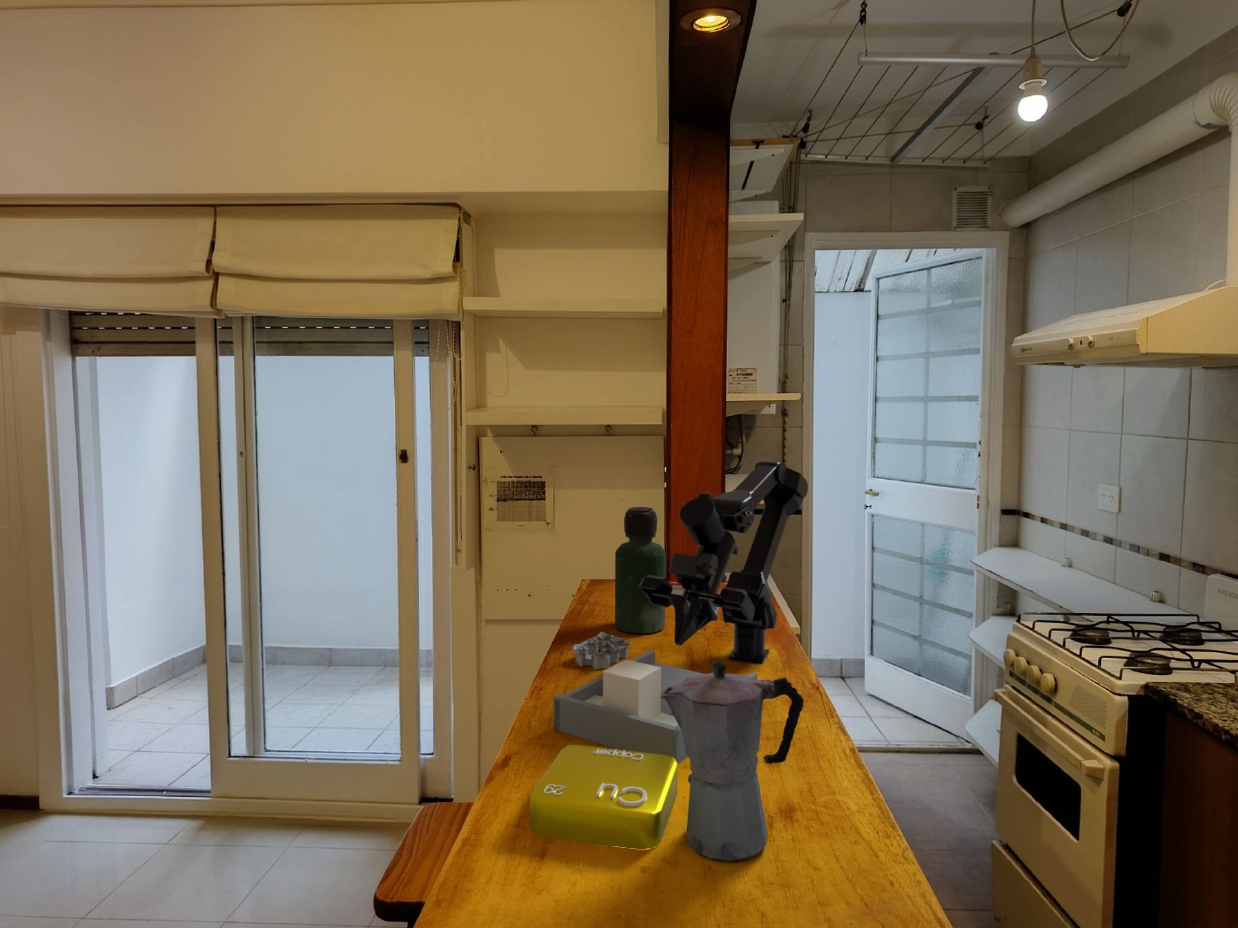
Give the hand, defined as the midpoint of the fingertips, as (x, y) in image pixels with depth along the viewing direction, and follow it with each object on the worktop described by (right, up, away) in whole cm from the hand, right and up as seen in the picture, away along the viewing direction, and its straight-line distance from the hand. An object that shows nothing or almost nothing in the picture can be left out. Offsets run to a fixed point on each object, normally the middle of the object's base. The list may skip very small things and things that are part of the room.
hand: (677, 643), depth 122 cm
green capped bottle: (-5, -6, +41) cm, 42 cm away
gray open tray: (-3, -10, -3) cm, 11 cm away
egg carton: (-12, -8, +21) cm, 26 cm away
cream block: (-7, -8, -10) cm, 15 cm away
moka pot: (+3, -13, -36) cm, 39 cm away
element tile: (-11, -13, -30) cm, 34 cm away
